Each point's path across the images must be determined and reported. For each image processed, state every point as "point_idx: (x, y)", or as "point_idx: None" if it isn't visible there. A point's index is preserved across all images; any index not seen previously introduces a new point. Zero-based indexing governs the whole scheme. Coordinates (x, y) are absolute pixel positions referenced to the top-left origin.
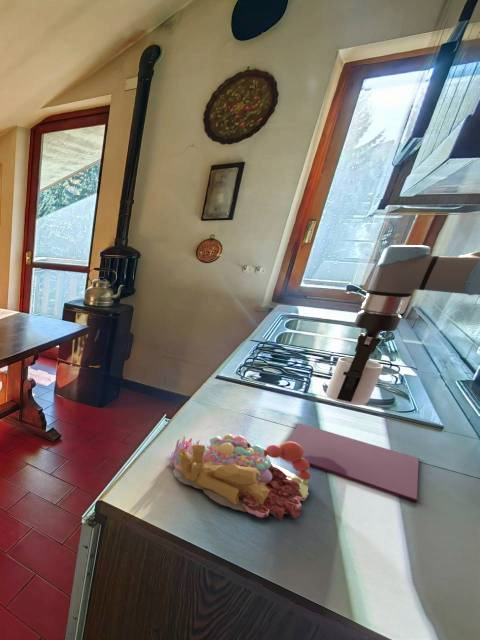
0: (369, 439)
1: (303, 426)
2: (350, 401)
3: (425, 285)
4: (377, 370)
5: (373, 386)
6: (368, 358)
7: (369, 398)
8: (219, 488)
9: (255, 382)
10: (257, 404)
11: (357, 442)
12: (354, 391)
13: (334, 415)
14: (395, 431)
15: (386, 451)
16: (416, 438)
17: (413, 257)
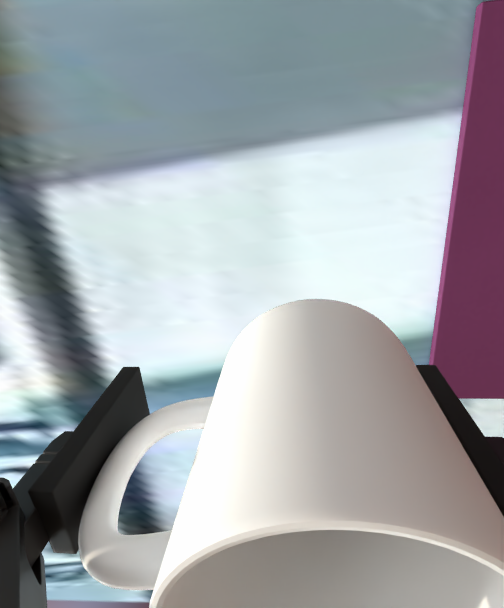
0: (367, 195)
1: (452, 384)
2: (437, 369)
3: None
4: (477, 518)
5: (372, 364)
6: (21, 593)
7: (333, 310)
8: None
9: None
10: None
11: (479, 225)
12: (467, 414)
13: (200, 324)
14: (169, 131)
15: (501, 124)
16: (177, 49)
17: None
